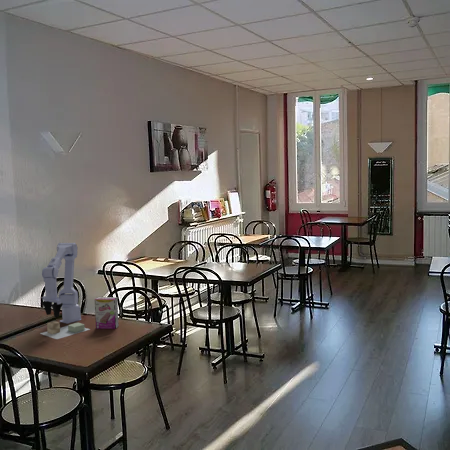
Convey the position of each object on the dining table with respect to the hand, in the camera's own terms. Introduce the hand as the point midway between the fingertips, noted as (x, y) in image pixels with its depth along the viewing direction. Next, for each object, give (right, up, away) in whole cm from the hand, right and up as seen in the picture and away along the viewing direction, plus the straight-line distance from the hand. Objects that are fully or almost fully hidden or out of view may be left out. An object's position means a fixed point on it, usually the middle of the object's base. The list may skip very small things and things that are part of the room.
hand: (52, 315), depth 272 cm
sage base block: (+11, -8, +3) cm, 14 cm away
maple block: (0, -9, +1) cm, 9 cm away
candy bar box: (+27, -8, +7) cm, 29 cm away
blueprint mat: (+6, -9, +2) cm, 11 cm away
